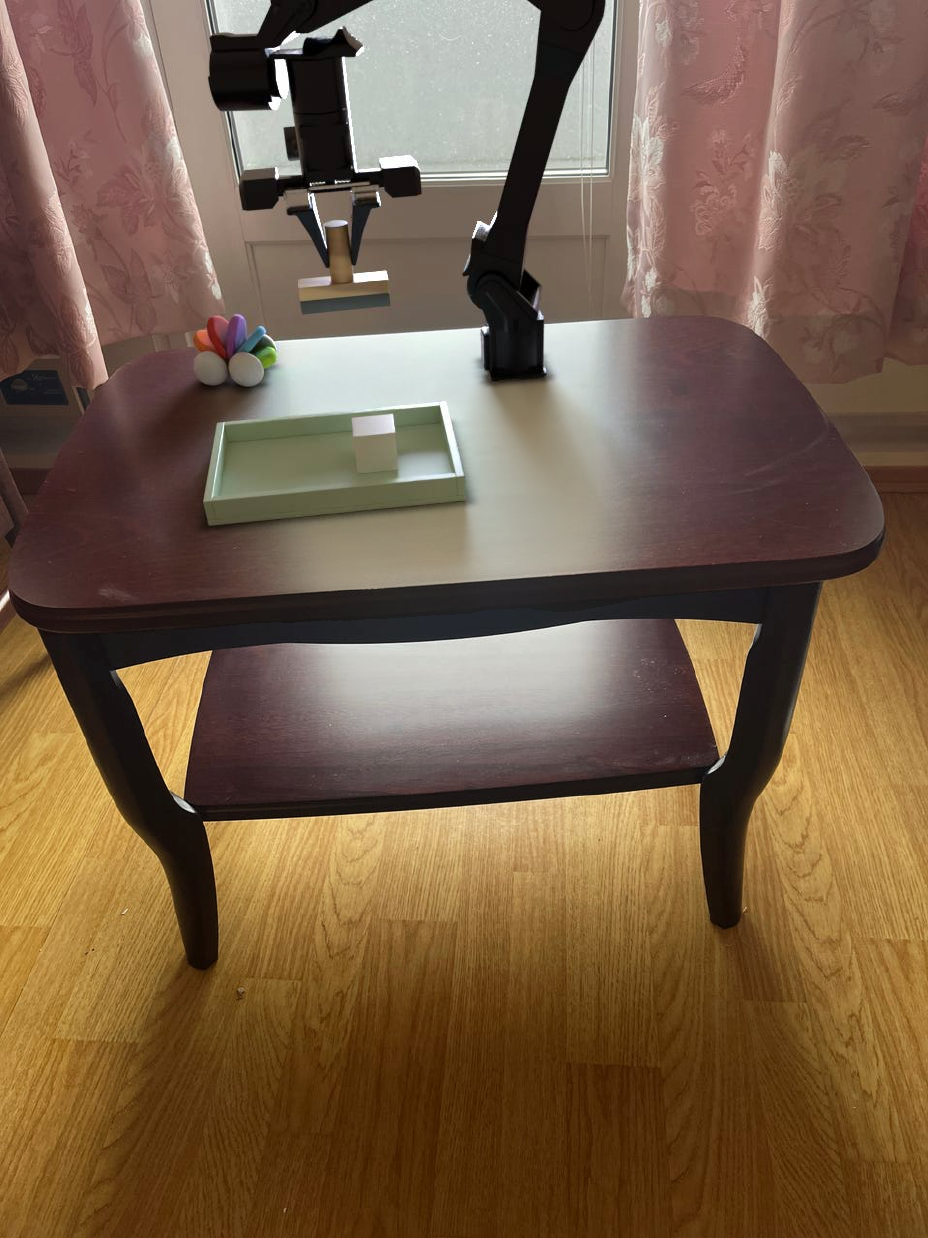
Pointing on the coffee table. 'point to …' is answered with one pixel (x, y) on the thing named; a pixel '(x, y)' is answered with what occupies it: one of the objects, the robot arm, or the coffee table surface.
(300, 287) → the brush
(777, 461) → the coffee table surface
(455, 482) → the tray
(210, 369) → the rainbow petal wheeled toy
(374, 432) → the chalk block
